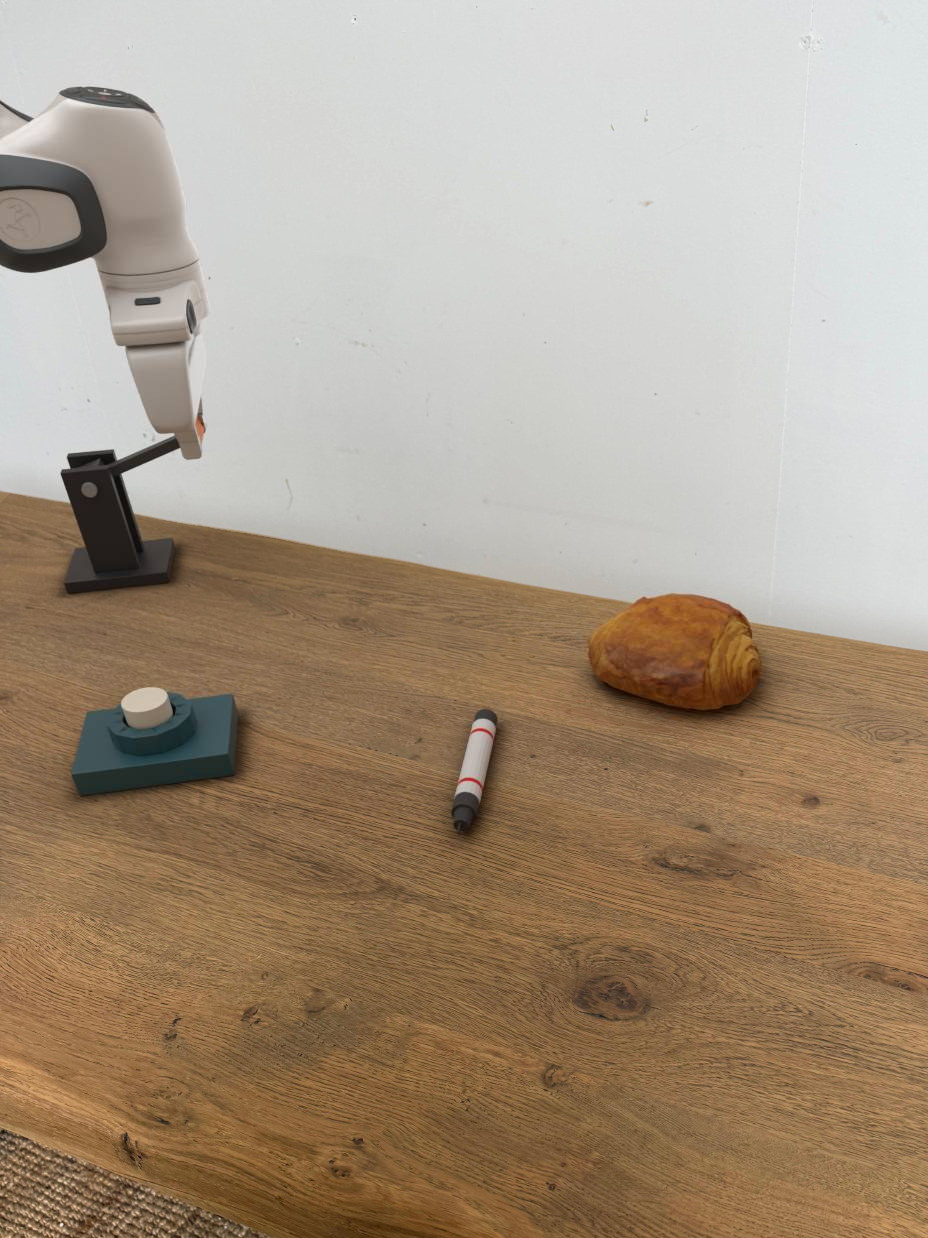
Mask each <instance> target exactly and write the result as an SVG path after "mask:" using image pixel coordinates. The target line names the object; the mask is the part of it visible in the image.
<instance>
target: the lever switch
mask: <svg viewBox="0 0 928 1238" xmlns="http://www.w3.org/2000/svg"><path fill="white" fill-rule="evenodd" d="M195 426H196V430H197V434H198V435H199V437H200V441H201V445H202V446H203V440H204V434H205V433H204V427H203V425H202V424H201V422H200V421H199V419H198V417H197V419H196V425H195ZM179 449H180V445H179V442H178V440H177V439H176V437H175V435H174V434H173V435H172V436H170V437H168V438H165V439H163V440H161V441H158V442H156V443H154V444H152V445H150V446H147V447H145V448H142V449H140V450H138V451H136V452H134V453H130V454H129V455H126V456H124V457H122V458H120V459H117V461H115V462H113V463H110V464H108V465H109V467H110V470H111V473H112V476H113V477H115V476H117V475H119V474H124V473H126V472H128V471H131V470H133V469H135V468H138V467H140V466H142V465H145V464H147V463H149V462H151V461H153V460H156V459H159V458H161V457H163V456H165V455H167V454H170V453H173V452H174V451H177V450H179ZM102 465H104V463H103V462H102V461H101V459H100V458H99V459H97V460H94V461H92V462H90V463H88V464H85V465H83V466H81V467H92V466H102ZM81 467H78V468H81ZM113 479H114V478H113Z"/></svg>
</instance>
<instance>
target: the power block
mask: <svg viewBox="0 0 928 1238" xmlns="http://www.w3.org/2000/svg"><path fill="white" fill-rule="evenodd" d="M166 692H167V694H168V698H169V701H170V704H171V707H172V710H173V716H172V718H171V719H170V720H169V721H168V722H165V723H163V724H161V725H158V726H156V727H153V728H146V729H135V728H132V727H130V726H129V725H128V723H127V721H126V718H125V715H124V712H123V709H122V707H121V702H120V703H119V704H117V706H115V707H114V708H105V709H99V710H90V711H89V710H88V711H86V713H85V717H84V721H83V725H82V729H81V734H80V736H79V737H80V738H79V741H78V745H77V748H76V749H77V750H76V754H75V758H74V761H73V766H72V770H71V774H70V776H71V778H72V780H73V782H74V785H75V787H76V790H77V793H78V795H79V797H82V796H83V797H84V796H89V795H91V796H92V795H97V794H98V795H99V794H104V793H105V794H106V793H112V792H113V793H114V792H120V791H127V790H135V789H143V788H148V787H156V786H163V785H164V786H166V785H172V784H178V783H186V782H194V781H202V780H210V779H216V778H217V779H218V778H225V777H231V776H235V769H236V757H237V756H236V755H237V742H238V727H239V717H240V716H239V715H240V714H239V711H238V707H237V704H236V699H235V697H234V694H233V693H225V694H217V695H210V696H202V697H194V698H186V697H185V696H184V695H183V694H181V693H175V692H169V691H166Z"/></svg>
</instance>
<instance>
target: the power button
mask: <svg viewBox="0 0 928 1238" xmlns="http://www.w3.org/2000/svg"><path fill="white" fill-rule="evenodd" d="M167 692H168V691H166V690H165V689H164V688H161V687H155V686H149V687H142V688H138V689H135V690H132V691H130V692H129V693H127V694H126V695H124V697H122V699H121V701H120V703H121V707H122V709H123V712H124V715H125V718H126V721H127V723H128V725H129V726H130V727H132V728H135V729H146V728H153V727H156V726H158V725H161V724H163V723H165V722H168V721H169V720H170V719H171V718H172V716H173V710H172V707H171V704H170V701H169V698H168V694H167Z"/></svg>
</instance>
